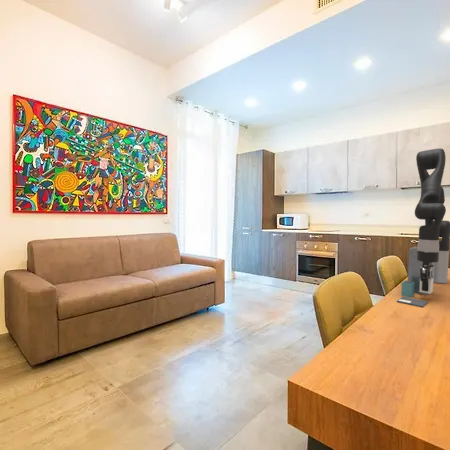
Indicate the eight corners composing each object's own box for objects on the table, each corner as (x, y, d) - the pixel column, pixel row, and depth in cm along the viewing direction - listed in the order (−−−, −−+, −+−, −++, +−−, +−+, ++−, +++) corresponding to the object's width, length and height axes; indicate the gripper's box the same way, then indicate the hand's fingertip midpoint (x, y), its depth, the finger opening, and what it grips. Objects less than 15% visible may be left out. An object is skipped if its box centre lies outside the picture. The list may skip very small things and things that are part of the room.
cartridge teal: (403, 293, 131) (404, 279, 130) (413, 295, 128) (414, 281, 127) (401, 295, 128) (401, 281, 127) (411, 297, 125) (412, 283, 125)
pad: (402, 297, 124) (402, 296, 124) (427, 302, 118) (428, 301, 118) (396, 302, 118) (396, 300, 118) (422, 307, 112) (423, 305, 112)
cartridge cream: (421, 289, 126) (422, 275, 126) (432, 291, 123) (433, 277, 123) (419, 291, 123) (420, 277, 123) (430, 293, 120) (431, 278, 120)
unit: (410, 289, 139) (412, 246, 138) (430, 292, 134) (433, 248, 133) (407, 291, 135) (409, 247, 134) (427, 295, 129) (430, 249, 128)
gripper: (421, 247, 130) (419, 285, 131) (413, 250, 120) (411, 291, 121) (441, 249, 125) (439, 288, 126) (435, 252, 115) (433, 295, 116)
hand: (426, 289), depth 123 cm, fingers closed on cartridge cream, 4 cm apart
